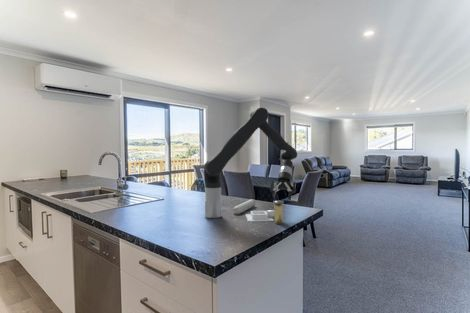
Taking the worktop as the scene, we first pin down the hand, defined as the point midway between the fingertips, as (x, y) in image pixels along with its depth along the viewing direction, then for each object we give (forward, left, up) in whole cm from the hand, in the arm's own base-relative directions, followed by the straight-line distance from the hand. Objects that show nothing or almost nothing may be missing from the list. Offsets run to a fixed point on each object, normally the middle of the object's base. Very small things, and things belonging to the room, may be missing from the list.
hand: (281, 197), depth 145 cm
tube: (-19, +23, -12) cm, 32 cm away
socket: (-10, +4, -12) cm, 16 cm away
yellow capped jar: (-3, -6, -12) cm, 14 cm away
